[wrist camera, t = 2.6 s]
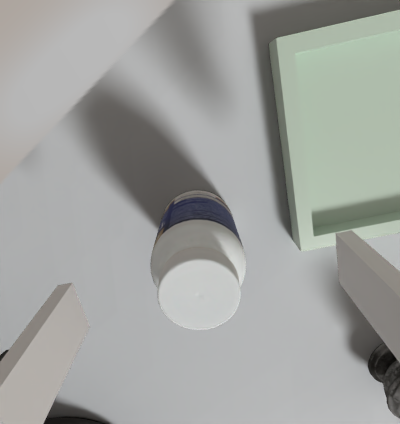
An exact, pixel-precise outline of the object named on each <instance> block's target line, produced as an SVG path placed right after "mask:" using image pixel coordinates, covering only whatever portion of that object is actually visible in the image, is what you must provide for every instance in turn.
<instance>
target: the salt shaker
mask: <svg viewBox="0 0 400 424" xmlns="http://www.w3.org/2000/svg"><path fill="white" fill-rule="evenodd" d="M368 368H369V371H370V373H371V375H372V376H373V377H374V379H376V380H377V381H379V382H381V383H383V385H384V391H385V394H386V398H387V404H388V408H389V409H390V411H391V412H392V413H393V414H394V415H395V416H397V417H398V418H400V363H399V361H398V360H397V359H396V357H395V356H394V355H393V353H392V352H391V351H390V349H389V348H388V347H387V345H386V344H385V343H383V344H381V345H380V346H379V347H378V348H377V349H375V351H374V352H373V353H372V355H371V357H370V359H369V366H368Z"/></svg>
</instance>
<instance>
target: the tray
mask: <svg viewBox="0 0 400 424" xmlns="http://www.w3.org/2000/svg"><path fill="white" fill-rule="evenodd" d="M269 52H270V60H271V68H272V76H273V84H274V92H275V100H276V108H277V116H278V124H279V132H280V140H281V148H282V156H283V164H284V172H285V180H286V188H287V196H288V204H289V212H290V220H291V228H292V236H293V241H294V243H295V244H296V245H297V247H298V248H299V250H300V251H301V252H303V251H308V250H313V249H318V248H324V247H329V246H334V245H336V235H335V233H339V232H345V231H350V230H352V231H353V232H354V233H356V234H357V235H358V236H359V237H360V238H361V239H362V240H365V239H370V238H375V237H380V236H385V235H391V234H396V233H400V10H396V11H391V12H387V13H383V14H378V15H374V16H370V17H365V18H361V19H357V20H352V21H348V22H344V23H339V24H335V25H331V26H326V27H322V28H317V29H313V30H309V31H304V32H300V33H296V34H291V35H287V36H283V37H278V38H276V39H274V40H273V41H272V42H271V43H269Z"/></svg>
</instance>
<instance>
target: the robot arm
mask: <svg viewBox="0 0 400 424" xmlns="http://www.w3.org/2000/svg"><path fill="white" fill-rule="evenodd" d="M335 235H336V249H337V262H338V276H339V283H340V285H341V286H342V287H343V289H344V290H345V291H346V292H347V294H348V295H349V296H350V298H351V299H352V300H353V302H354V303H355V304H356V306H357V307H358V308H359V310H360V311H361V312H362V314H363V315H364V316H365V318H366V319H367V320H368V322H369V323H370V324H371V326H372V327H373V328H374V329H375V331H376V332H377V333H378V335H379V336H380V337H381V339H382V340H383V341H384V343H385V344H386V345H387V347H388V348H389V349H390V351H391V352H392V353H393V355H394V356H395V357H396V359H397V360H398V361H399V363H400V272H399V271H398V270H397V269H396V268H395V267H394V266H392V265H391V264H390V263H389V262H388V261H387V260H386V259H384V258H383V257H382V256H381V255H380V254H379V253H377V252H376V251H375V250H374V249H373V248H372V247H371V246H369V245H368V244H367V243H366V242H365V241H364V240H362V239H361V238H360V237H359V236H358V235H357V234H356V233H354V232H353V231H352V230H350V231H345V232H339V233H335ZM89 328H90V326H89V323H88V321H87V318H86V315H85V313H84V310H83V308H82V305H81V303H80V300H79V298H78V295H77V293H76V290H75V288H74V285H73V283H68V284H63V285H58V286H57V287H56V289H55V290H54V291H53V293H52V294H51V295H50V297H49V298H48V299H47V301H46V302H45V303H44V305H43V306H42V307H41V308H40V310H39V311H38V312H37V314H36V315H35V316H34V318H33V319H32V320H31V322H30V323H29V324H28V326H27V327H26V328H25V330H24V331H23V332H22V334H21V335H20V336H19V338H18V339H17V340H16V341H15V343H14V344H13V345H12V347H11V348H10V349H9V350H6V351H5V352H3V353H2V354H1V355H0V424H102V423H98V422H95V421H91V420H86V419H79V418H53V419H47V420H45V419H46V417H47V415H48V413H49V411H50V409H51V407H52V405H53V403H54V400H55V398H56V396H57V394H58V392H59V390H60V388H61V386H62V384H63V382H64V380H65V378H66V375H67V373H68V371H69V369H70V367H71V365H72V363H73V361H74V359H75V357H76V355H77V353H78V351H79V348H80V346H81V344H82V342H83V340H84V338H85V336H86V334H87V332H88V330H89Z"/></svg>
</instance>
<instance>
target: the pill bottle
mask: <svg viewBox="0 0 400 424" xmlns="http://www.w3.org/2000/svg"><path fill="white" fill-rule="evenodd" d="M245 272H246V259H245V254H244V250H243V246H242V243H241V240H240V238H239V235H238V232H237V229H236V226H235V223H234V220H233V217H232V214H231V212H230V210H229V208H228V206H227V205H226V203H225V202H224V201H223V200H222V199H221V198H220V197H218V196H217V195H215V194H212V193H210V192H206V191H198V190H196V191H189V192H185V193H183V194H181V195H179V196H177V197H176V198H174V199H173V200H172V201H171V202H170V203H169V204H168V206H167V207H166V209H165V211H164V214H163V217H162V220H161V223H160V227H159V230H158V233H157V237H156V240H155V244H154V247H153V251H152V256H151V274H152V278H153V281H154V283H155V285H156V287H157V288H158V302H159V305H160V307H161V309H162V311H163V313H164V314H165V315H166V316H167V317H168V318H169V319H170V320H171V321H172V322H174V323H175V324H177V325H179V326H181V327H184V328H187V329H193V330H206V329H211V328H214V327H217V326H219V325H221V324H223V323H224V322H226V321H227V320H228V319H229V318H231V317H232V315H233V314H234V313H235V311H236V310H237V308H238V305H239V302H240V297H241V290H240V286H241V285H242V282H243V280H244V277H245Z"/></svg>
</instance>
